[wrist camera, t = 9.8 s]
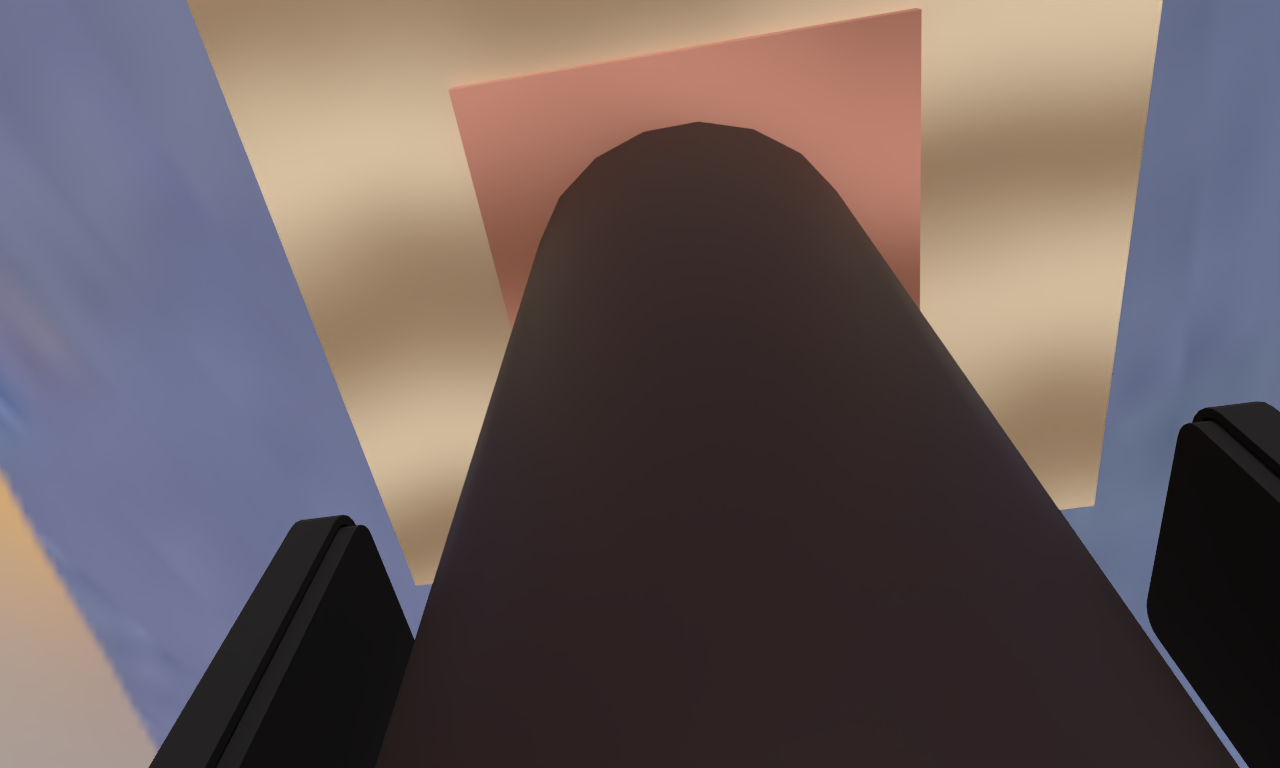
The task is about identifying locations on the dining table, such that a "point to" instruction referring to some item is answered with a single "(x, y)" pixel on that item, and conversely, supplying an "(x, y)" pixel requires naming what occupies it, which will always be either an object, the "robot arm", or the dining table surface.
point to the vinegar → (759, 514)
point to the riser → (669, 96)
